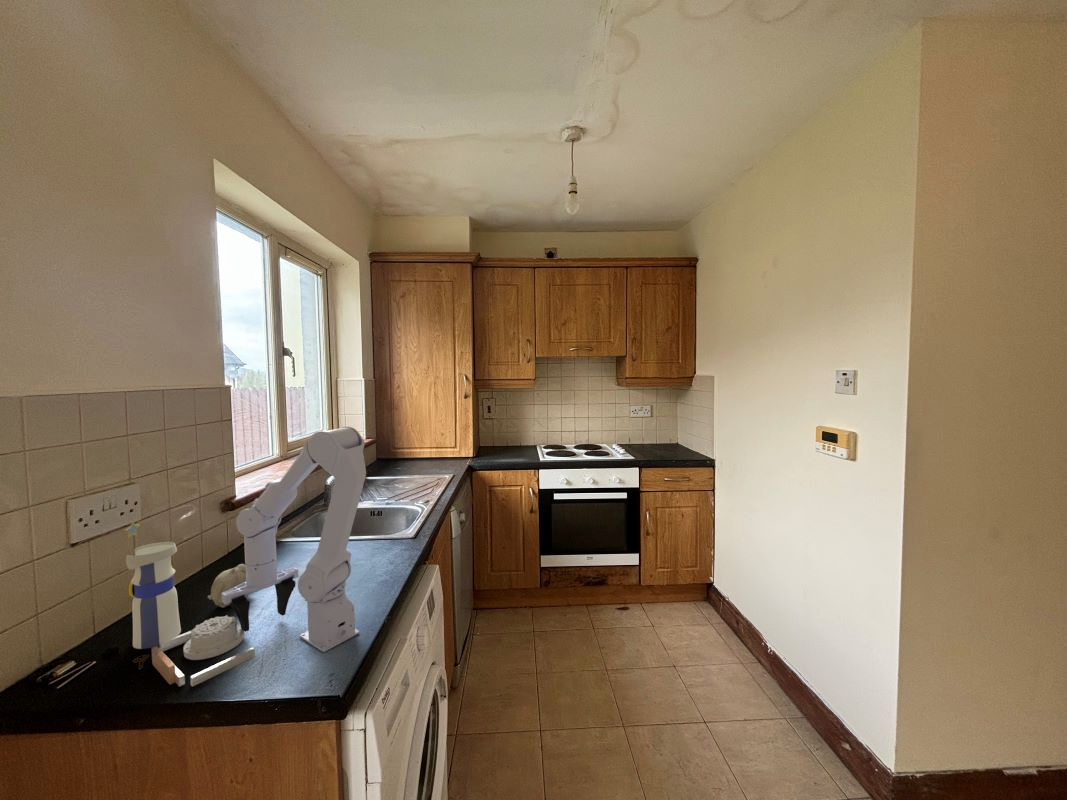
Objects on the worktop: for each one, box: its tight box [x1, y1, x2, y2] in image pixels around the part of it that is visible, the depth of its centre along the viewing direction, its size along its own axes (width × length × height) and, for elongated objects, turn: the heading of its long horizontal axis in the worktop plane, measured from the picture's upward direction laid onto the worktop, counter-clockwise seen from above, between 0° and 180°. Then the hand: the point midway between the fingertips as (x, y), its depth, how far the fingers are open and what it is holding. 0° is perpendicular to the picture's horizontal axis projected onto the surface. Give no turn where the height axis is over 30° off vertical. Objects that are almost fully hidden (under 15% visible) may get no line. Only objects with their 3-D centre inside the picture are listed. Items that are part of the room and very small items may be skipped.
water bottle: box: [125, 521, 182, 650], centre depth 90 cm, size 8×9×25 cm
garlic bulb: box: [207, 563, 249, 609], centre depth 105 cm, size 9×8×10 cm
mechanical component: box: [182, 614, 245, 661], centre depth 88 cm, size 10×4×10 cm
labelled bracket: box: [151, 630, 256, 687], centre depth 84 cm, size 18×12×3 cm
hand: (263, 621), depth 94 cm, fingers open, 7 cm apart
